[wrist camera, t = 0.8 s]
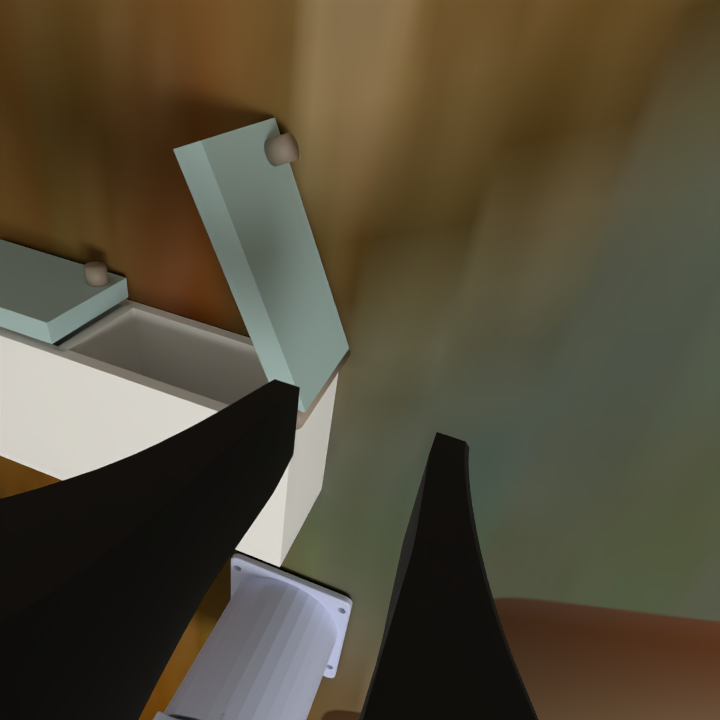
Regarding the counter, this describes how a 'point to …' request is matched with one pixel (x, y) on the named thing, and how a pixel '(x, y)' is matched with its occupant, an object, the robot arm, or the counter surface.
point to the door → (268, 254)
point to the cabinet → (129, 383)
